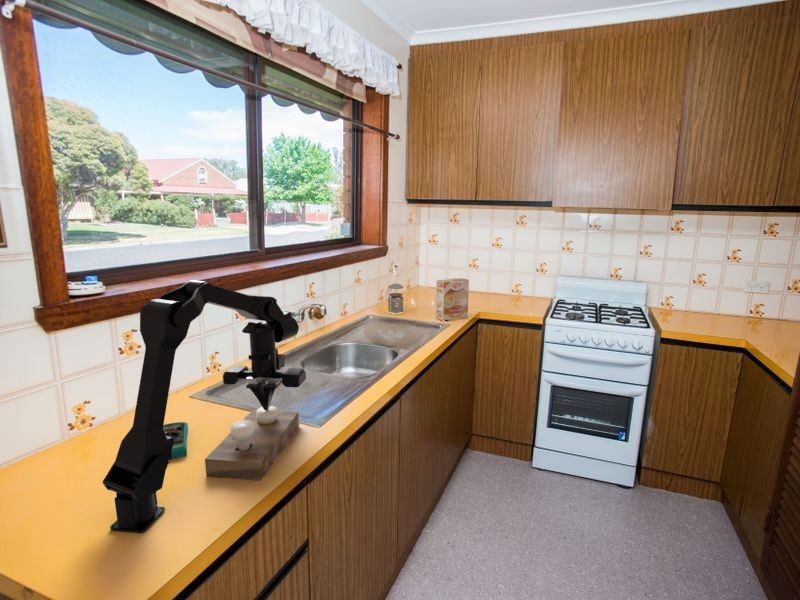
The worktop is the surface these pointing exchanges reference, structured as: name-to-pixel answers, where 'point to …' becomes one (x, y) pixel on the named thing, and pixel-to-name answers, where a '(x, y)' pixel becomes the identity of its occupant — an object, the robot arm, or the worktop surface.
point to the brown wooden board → (253, 449)
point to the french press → (393, 298)
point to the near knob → (243, 433)
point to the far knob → (266, 415)
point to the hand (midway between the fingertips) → (266, 409)
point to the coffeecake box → (452, 299)
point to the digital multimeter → (177, 438)
